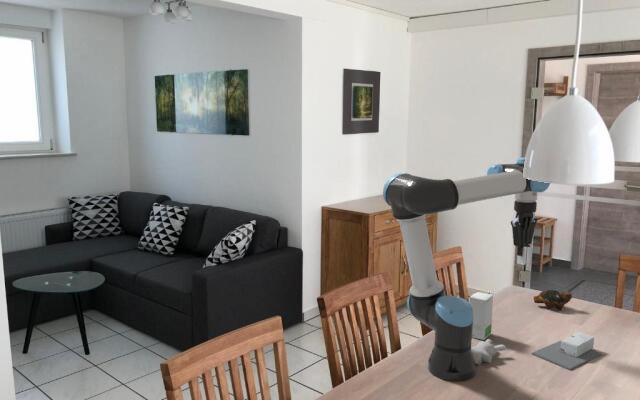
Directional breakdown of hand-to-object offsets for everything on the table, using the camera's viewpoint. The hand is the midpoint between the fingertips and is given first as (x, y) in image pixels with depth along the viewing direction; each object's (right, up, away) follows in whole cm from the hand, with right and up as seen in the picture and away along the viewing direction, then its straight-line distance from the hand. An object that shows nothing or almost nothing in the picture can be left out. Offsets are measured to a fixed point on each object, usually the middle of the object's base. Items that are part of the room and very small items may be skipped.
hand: (521, 263), depth 196 cm
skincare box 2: (+22, -27, -4) cm, 35 cm away
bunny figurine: (-18, -31, -12) cm, 38 cm away
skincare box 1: (-13, -28, +6) cm, 32 cm away
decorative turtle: (+26, -23, +35) cm, 49 cm away
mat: (+12, -30, -10) cm, 34 cm away
